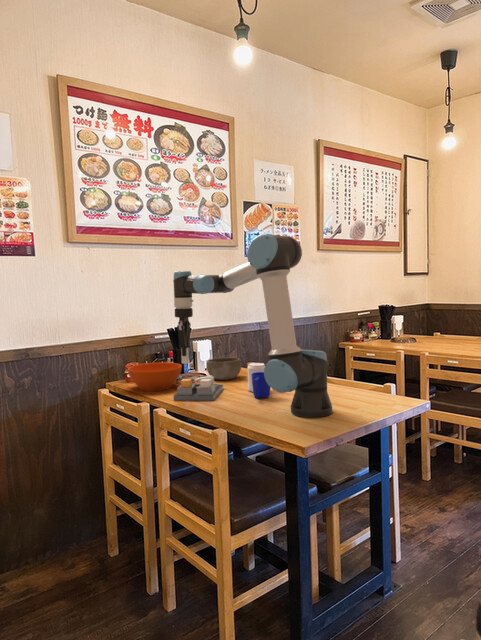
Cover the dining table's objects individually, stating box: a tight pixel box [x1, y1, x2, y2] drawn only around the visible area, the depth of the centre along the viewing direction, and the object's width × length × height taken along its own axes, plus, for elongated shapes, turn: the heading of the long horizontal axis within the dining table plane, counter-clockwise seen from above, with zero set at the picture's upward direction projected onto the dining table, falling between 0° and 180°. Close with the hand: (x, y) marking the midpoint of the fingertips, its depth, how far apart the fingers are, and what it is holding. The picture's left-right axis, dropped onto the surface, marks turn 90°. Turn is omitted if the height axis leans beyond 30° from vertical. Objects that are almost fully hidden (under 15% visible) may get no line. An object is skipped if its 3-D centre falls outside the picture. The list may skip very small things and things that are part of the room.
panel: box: [172, 383, 224, 402], centre depth 201 cm, size 22×17×5 cm
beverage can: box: [247, 362, 266, 393], centre depth 205 cm, size 8×8×12 cm
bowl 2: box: [206, 356, 242, 381], centre depth 235 cm, size 17×18×10 cm
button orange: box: [180, 378, 193, 388], centre depth 195 cm, size 4×4×4 cm
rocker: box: [193, 375, 212, 383], centre depth 209 cm, size 3×8×1 cm, turn 81°
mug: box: [252, 372, 271, 400], centre depth 191 cm, size 8×12×10 cm
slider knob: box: [205, 376, 215, 385], centre depth 202 cm, size 4×3×5 cm
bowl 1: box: [127, 362, 183, 392], centre depth 218 cm, size 25×25×10 cm
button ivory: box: [199, 379, 211, 388], centre depth 194 cm, size 4×4×4 cm
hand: (185, 363), depth 195 cm, fingers closed
